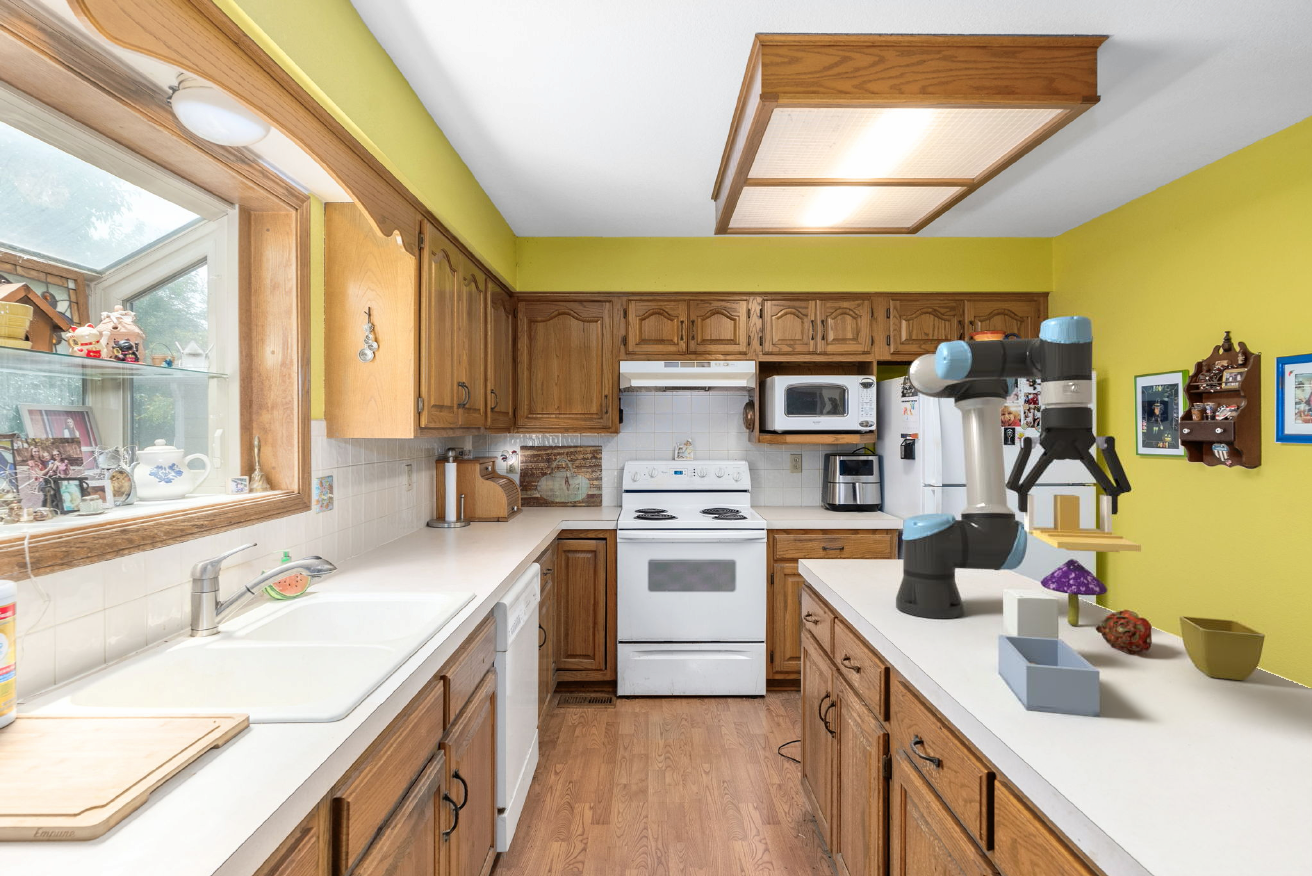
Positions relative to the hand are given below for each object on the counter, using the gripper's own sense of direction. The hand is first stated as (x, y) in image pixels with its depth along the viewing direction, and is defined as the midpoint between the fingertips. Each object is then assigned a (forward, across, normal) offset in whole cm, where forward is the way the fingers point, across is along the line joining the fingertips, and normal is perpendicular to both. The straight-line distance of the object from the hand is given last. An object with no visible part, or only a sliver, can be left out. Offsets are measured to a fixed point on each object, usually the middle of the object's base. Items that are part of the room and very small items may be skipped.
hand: (1066, 532), depth 107 cm
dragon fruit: (+26, +17, +21) cm, 38 cm away
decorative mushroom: (+26, +12, +35) cm, 45 cm away
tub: (+26, -5, -7) cm, 27 cm away
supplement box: (+26, -3, +10) cm, 28 cm away
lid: (+1, 0, -6) cm, 6 cm away
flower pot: (+26, +27, +10) cm, 39 cm away
